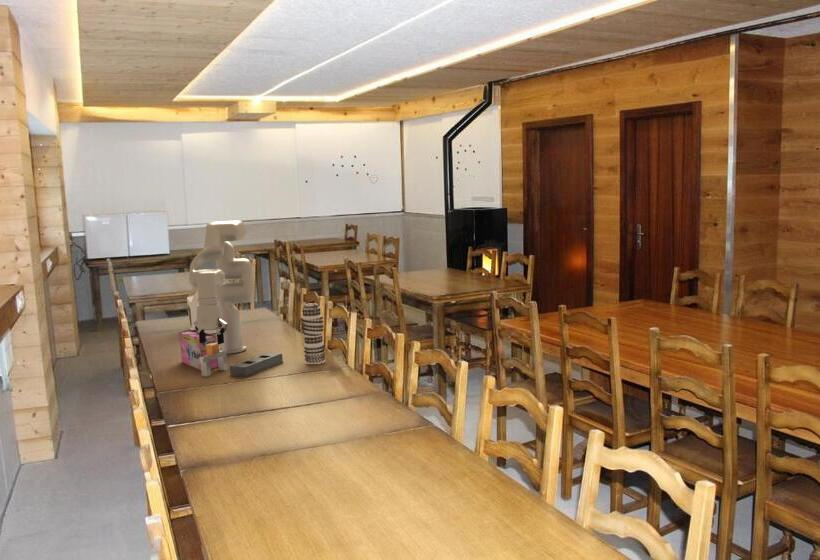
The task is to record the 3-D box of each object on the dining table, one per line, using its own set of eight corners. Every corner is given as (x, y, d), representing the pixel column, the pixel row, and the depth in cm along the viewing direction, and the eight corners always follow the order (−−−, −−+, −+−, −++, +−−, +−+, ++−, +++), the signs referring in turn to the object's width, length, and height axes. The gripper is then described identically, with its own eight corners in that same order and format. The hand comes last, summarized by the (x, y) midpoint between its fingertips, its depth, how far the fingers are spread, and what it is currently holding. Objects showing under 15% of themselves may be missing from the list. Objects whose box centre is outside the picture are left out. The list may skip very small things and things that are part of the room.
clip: (199, 376, 303) (197, 347, 302) (223, 368, 316) (220, 340, 314) (205, 377, 302) (203, 348, 300) (229, 368, 314) (226, 340, 313)
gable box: (189, 328, 408) (184, 277, 405) (214, 325, 413) (209, 275, 409) (193, 336, 388) (188, 282, 384) (219, 332, 392) (214, 279, 389)
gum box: (179, 361, 332) (176, 331, 330) (196, 358, 337) (194, 328, 335) (202, 370, 313) (199, 339, 311) (219, 367, 318) (216, 335, 316)
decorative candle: (322, 365, 311) (318, 305, 308) (301, 365, 313) (296, 306, 310) (329, 359, 320) (324, 301, 317) (308, 359, 322) (304, 302, 318)
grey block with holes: (230, 375, 302) (229, 366, 302) (267, 361, 323) (267, 352, 323) (245, 377, 299) (245, 367, 298) (282, 362, 320) (282, 353, 319)
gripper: (185, 302, 305) (189, 344, 307) (218, 303, 297) (221, 345, 299) (198, 299, 312) (202, 340, 314) (230, 300, 304) (234, 342, 306)
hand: (211, 343), depth 307 cm, fingers open, 9 cm apart
